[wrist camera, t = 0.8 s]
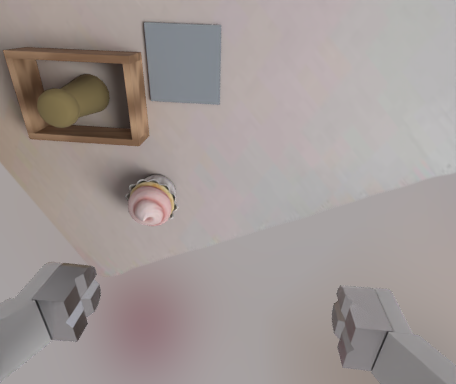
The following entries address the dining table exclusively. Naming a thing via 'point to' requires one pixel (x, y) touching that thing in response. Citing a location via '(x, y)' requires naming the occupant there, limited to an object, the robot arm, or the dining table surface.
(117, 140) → the frame
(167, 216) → the cupcake
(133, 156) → the dining table surface
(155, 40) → the felt pad
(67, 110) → the olive piece
